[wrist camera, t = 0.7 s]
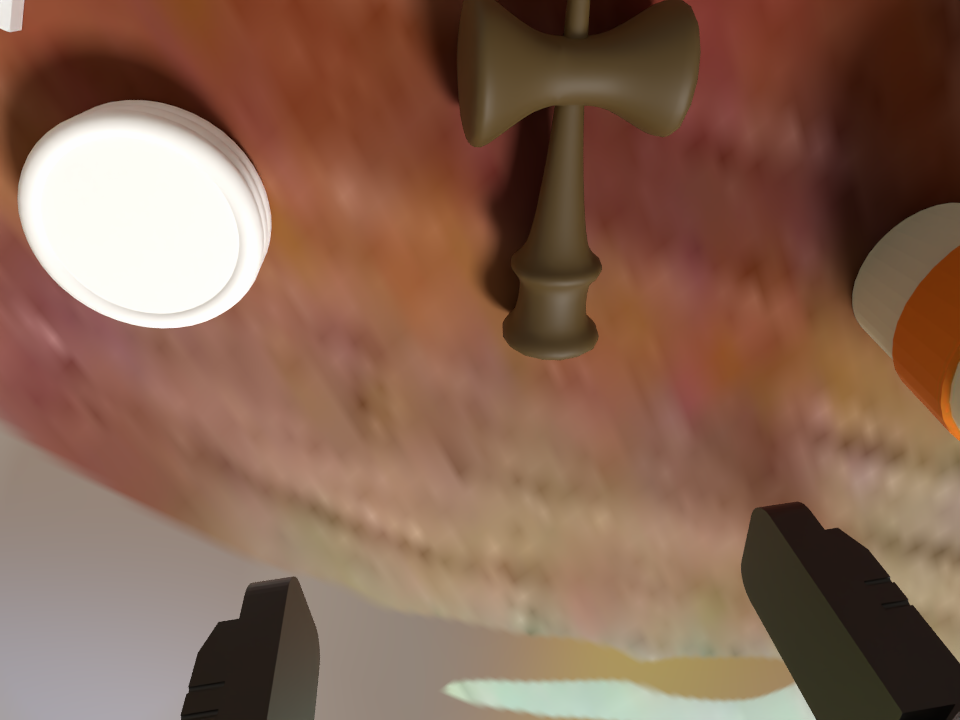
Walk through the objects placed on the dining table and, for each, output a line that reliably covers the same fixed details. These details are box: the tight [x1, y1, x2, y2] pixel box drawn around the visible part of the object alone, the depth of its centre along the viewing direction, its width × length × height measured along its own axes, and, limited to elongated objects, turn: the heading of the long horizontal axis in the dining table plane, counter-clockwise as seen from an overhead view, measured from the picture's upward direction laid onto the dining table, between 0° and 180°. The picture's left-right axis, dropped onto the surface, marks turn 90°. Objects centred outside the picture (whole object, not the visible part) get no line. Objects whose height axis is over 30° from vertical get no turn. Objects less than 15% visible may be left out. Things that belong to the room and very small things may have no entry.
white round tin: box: [18, 100, 271, 328], centre depth 29 cm, size 10×10×4 cm
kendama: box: [457, 0, 700, 360], centre depth 29 cm, size 6×10×20 cm
